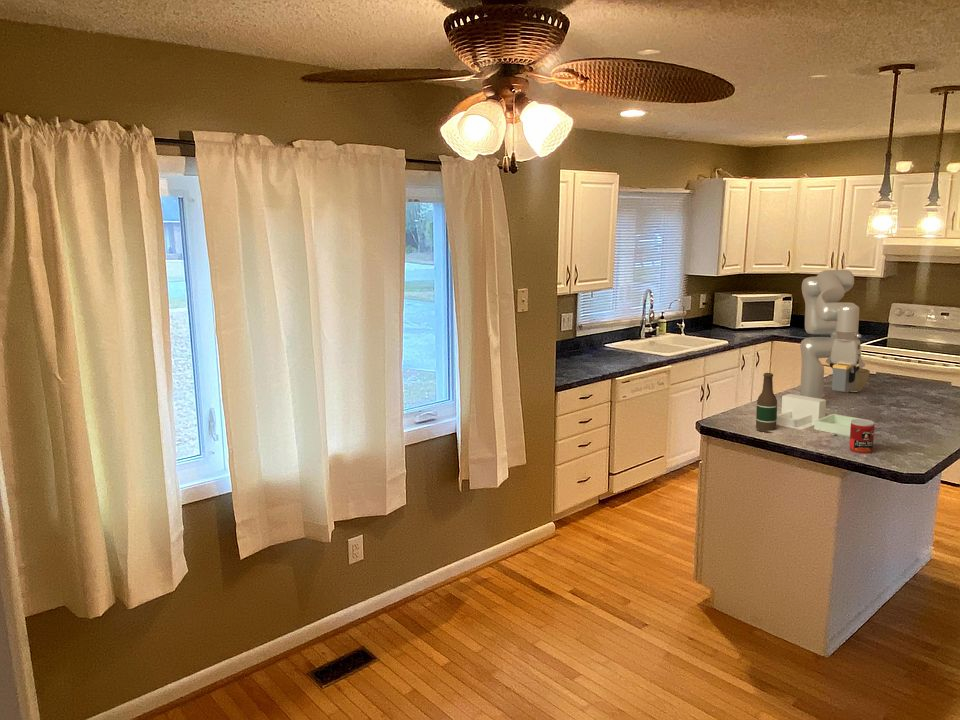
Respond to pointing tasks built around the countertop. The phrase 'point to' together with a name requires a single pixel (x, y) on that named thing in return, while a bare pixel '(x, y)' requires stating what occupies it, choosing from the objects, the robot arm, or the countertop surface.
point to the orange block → (842, 378)
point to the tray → (835, 425)
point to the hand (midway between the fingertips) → (843, 380)
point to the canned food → (861, 435)
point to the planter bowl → (861, 379)
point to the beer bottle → (766, 407)
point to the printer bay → (800, 411)
